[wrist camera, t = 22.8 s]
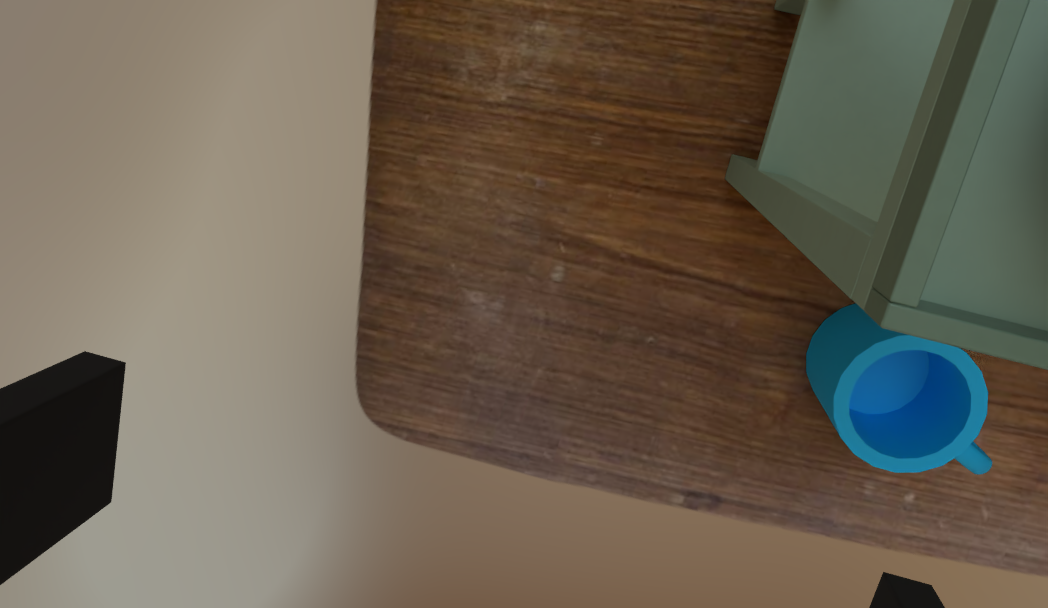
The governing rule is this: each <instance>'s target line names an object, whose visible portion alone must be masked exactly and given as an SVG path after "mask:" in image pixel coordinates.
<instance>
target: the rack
mask: <svg viewBox="0 0 1048 608" xmlns="http://www.w3.org/2000/svg"><path fill="white" fill-rule="evenodd" d="M774 9H775V10H779V11H783V12H788V13H792V14H796V15H801V17H800V20H799V24H798V27H797V30H796V34H795V37H794V40H793V44H792V47H791V50H790V54H789V57H788V60H787V64H786V67H785V70H784V74H783V77H782V80H781V84H780V87H779V90H778V94H777V97H776V100H775V104H774V107H773V110H772V114H771V117H770V120H769V124H768V127H767V131H766V134H765V137H764V141H763V144H762V147H761V151H760V154H759V157H758V161H757V160H754V159H750V158H746V157H742V156H737V155H733V154H732V155H731V159H730V162H729V165H728V169H727V172H726V176H725V180H726V181H728V182H729V183H730V184H731V185H732V186H733V187H734V188H735V189H736V190H737V191H738V192H739V193H740V194H741V195H742V196H743V197H744V198H745V199H746V200H747V201H749V202H750V203H751V204H752V205H753V206H754V207H755V208H756V209H757V210H758V211H759V212H760V213H761V214H762V215H763V216H764V217H765V218H766V219H767V220H768V221H769V222H771V223H772V224H773V225H774V226H775V227H776V228H777V229H778V230H779V231H780V232H781V233H782V234H783V235H784V236H785V237H786V238H787V239H788V240H789V241H790V242H791V243H793V244H794V245H795V246H796V247H797V248H798V249H799V250H800V251H801V252H802V253H803V254H804V255H805V256H806V257H807V258H808V259H809V260H810V261H811V262H812V263H813V264H815V265H816V266H817V267H818V268H819V269H820V270H821V271H822V272H823V273H824V274H825V275H826V276H827V277H828V278H829V279H830V280H831V281H832V282H833V283H834V284H835V285H837V286H838V287H839V288H840V289H841V290H842V291H843V292H844V293H845V294H846V295H847V296H848V297H849V298H850V299H852V300H853V301H854V302H855V303H856V304H857V305H858V306H860V307H861V308H862V309H863V310H864V312H865V313H866V314H867V315H869V316H870V317H871V318H872V319H873V320H874V321H875V322H876V323H877V324H878V325H879V326H880V327H881V328H883V329H887V330H891V331H895V332H899V333H903V334H907V335H911V336H915V337H919V338H923V339H927V340H931V341H935V342H939V343H943V344H947V345H951V346H955V347H959V348H963V349H967V350H971V351H975V352H979V353H983V354H986V355H990V356H994V357H998V358H1002V359H1006V360H1010V361H1014V362H1018V363H1022V364H1026V365H1030V366H1034V367H1038V368H1042V369H1046V370H1048V0H776V4H775V7H774Z"/></svg>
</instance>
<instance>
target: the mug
mask: <svg viewBox="0 0 1048 608" xmlns="http://www.w3.org/2000/svg"><path fill="white" fill-rule="evenodd" d="M806 373H807V376H808V378H809V381H810V384H811V387H812V389H813V391H814V393H815V395H816V396H817V398H818V400H819V402H820V403H821V405H822V407H823V408H824V410H825V412H826V413H827V415H828V417H829V419H830V420H831V422H832V424H833V425H834V427H835V429H836V430H837V432H838V434H839V436H840V437H841V439H842V440H843V441H844V442H845V444H846V445H847V446H848V447H849V448H850V450H851V451H852V452H853V453H854V454H855V455H856V456H858V457H859V458H861V459H862V460H864V461H866V462H867V463H869V464H870V465H872V466H874V467H877V468H881V469H885V470H888V471H892V472H896V473H902V472H922V471H926V470H929V469H933V468H936V467H939V466H943V465H944V464H946V463H948V462H949V461H951V460H952V459H954V458H955V459H956V460H957V461H958V462H960V463H961V464H962V465H963V466H964V467H966V468H967V469H968V470H970V471H971V472H973V473H974V474H983V473H986V472H987V471H989V470H990V468H991V466H992V460H991V459H990V458H989V457H988V456H987V455H986V453H985V452H984V451H983V450H982V449H980V448H979V447H978V446H977V445H976V444H975V443H974V442H973V441H974V439H975V438H976V437H977V436H978V435H979V432H980V430H981V427H982V425H983V423H984V420H985V418H986V415H987V403H988V391H987V388H986V384H985V381H984V378H983V375H982V372H981V370H980V369H979V368H978V367H977V365H976V364H975V363H974V361H973V360H972V359H971V358H970V356H969V355H968V354H967V353H966V352H965V351H963V350H962V349H961V348H959V347H955V346H951V345H947V344H943V343H939V342H935V341H931V340H927V339H923V338H919V337H915V336H911V335H907V334H903V333H899V332H895V331H891V330H887V329H883V328H881V327H880V326H879V325H878V324H877V323H876V322H875V321H874V320H873V319H872V318H871V317H870V316H869V315H867V314H866V313H865V312H864V310H863V309H862V308H861V307H860V306H858V305H857V304H856V303H855V304H852V305H849V306H846V307H843V308H841V309H839V310H838V311H837V312H835V313H834V314H832V315H831V316H830V317H828V318H827V319H825V320H824V321H823V323H822V324H821V325H820V327H819V328H818V329H817V331H816V332H815V333H814V335H813V336H812V339H811V342H810V345H809V348H808V350H807V353H806Z"/></svg>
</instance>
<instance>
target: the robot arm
mask: <svg viewBox="0 0 1048 608" xmlns="http://www.w3.org/2000/svg"><path fill="white" fill-rule="evenodd" d="M125 364H126V363H125V362H121V361H118V360H114V359H111V358H107V357H103V356H100V355H96V354H93V353H89V352H86V351H85V352H82V353H80V354H78V355H76V356H73V357H71V358H69V359H67V360H65V361H62V362H60V363H57V364H55V365H53V366H51V367H49V368H46V369H44V370H42V371H39V372H37V373H35V374H33V375H30V376H28V377H26V378H24V379H22V380H19V381H17V382H15V383H12V384H10V385H8V386H6V387H3V388H1V389H0V585H1V584H2V583H4V582H5V581H6V580H8V579H9V578H10V577H11V576H13V575H14V574H16V573H17V572H18V571H20V570H21V569H22V568H24V567H25V566H26V565H28V564H29V563H30V562H32V561H33V560H34V559H36V558H37V557H38V556H40V555H41V554H42V553H44V552H45V551H46V550H48V549H49V548H50V547H52V546H53V545H54V544H56V543H57V542H58V541H60V540H61V539H63V538H64V537H65V536H67V535H68V534H69V533H71V532H72V531H73V530H75V529H76V528H77V527H78V526H80V525H81V524H83V523H84V522H85V521H87V520H88V519H89V518H91V517H92V516H93V515H95V514H96V513H97V512H99V511H100V510H101V509H103V508H104V507H105V506H107V505H108V504H109V503H110V502H111V499H112V489H113V480H114V470H115V459H116V451H117V441H118V432H119V422H120V413H121V403H122V393H123V384H124V374H125ZM870 608H945V607H944V606H943V604H942V602H941V601H940V599H939V597H938V595H937V594H936V592H935V590H934V589H933V587H932V585H929V584H925V583H922V582H918V581H914V580H910V579H907V578H903V577H899V576H896V575H893V574H889V573H885V572H883V574H882V577H881V580H880V582H879V585H878V587H877V590H876V592H875V595H874V597H873V600H872V602H871V605H870Z"/></svg>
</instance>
